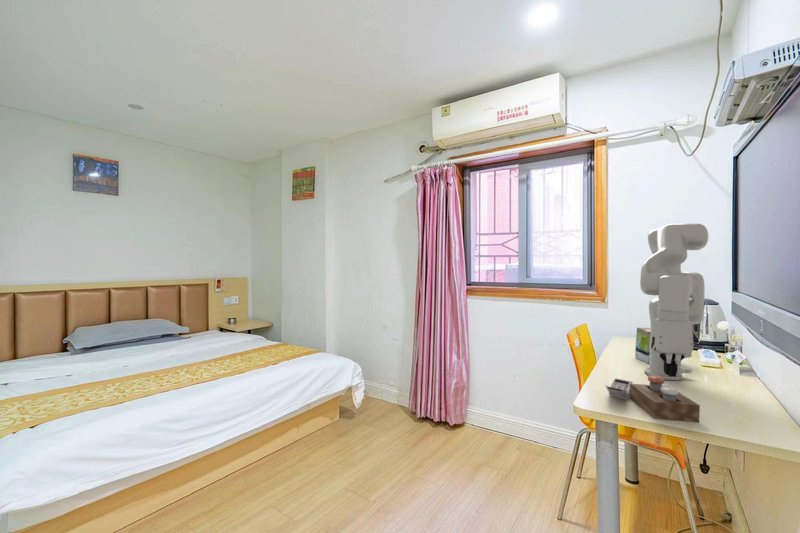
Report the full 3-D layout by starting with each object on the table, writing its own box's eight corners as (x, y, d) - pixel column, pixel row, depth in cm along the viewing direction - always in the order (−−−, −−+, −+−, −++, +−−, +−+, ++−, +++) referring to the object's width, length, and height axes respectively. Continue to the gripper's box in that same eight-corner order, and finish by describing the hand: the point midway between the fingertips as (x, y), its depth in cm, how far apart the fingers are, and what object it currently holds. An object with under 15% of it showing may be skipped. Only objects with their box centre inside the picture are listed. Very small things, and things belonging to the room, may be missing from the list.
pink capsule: (659, 397, 122) (660, 375, 122) (666, 402, 118) (667, 380, 117) (644, 396, 123) (645, 374, 123) (651, 401, 118) (652, 379, 118)
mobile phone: (604, 385, 121) (615, 367, 141) (603, 403, 121) (615, 382, 141) (626, 390, 117) (634, 371, 137) (625, 408, 117) (633, 386, 137)
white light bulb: (672, 409, 114) (673, 387, 114) (681, 416, 110) (682, 392, 110) (657, 408, 115) (658, 385, 115) (664, 414, 111) (665, 391, 110)
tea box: (647, 363, 166) (649, 331, 166) (634, 357, 176) (635, 327, 176) (682, 364, 166) (683, 332, 165) (666, 358, 176) (667, 327, 175)
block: (668, 400, 123) (669, 386, 123) (699, 422, 107) (699, 405, 107) (629, 398, 125) (630, 383, 125) (653, 418, 109) (654, 402, 109)
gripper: (692, 314, 114) (689, 372, 115) (639, 313, 116) (637, 369, 118) (708, 319, 107) (705, 381, 108) (651, 317, 109) (649, 378, 110)
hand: (670, 375), depth 113 cm, fingers closed
